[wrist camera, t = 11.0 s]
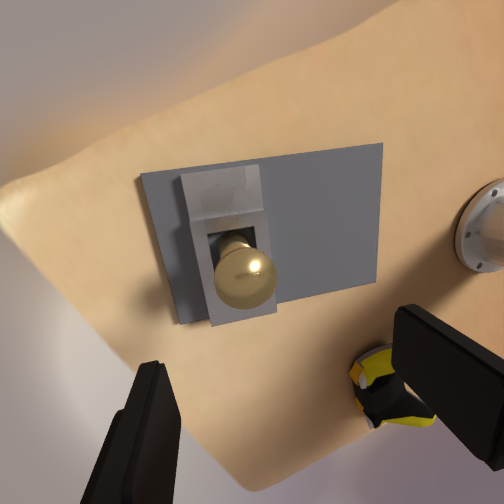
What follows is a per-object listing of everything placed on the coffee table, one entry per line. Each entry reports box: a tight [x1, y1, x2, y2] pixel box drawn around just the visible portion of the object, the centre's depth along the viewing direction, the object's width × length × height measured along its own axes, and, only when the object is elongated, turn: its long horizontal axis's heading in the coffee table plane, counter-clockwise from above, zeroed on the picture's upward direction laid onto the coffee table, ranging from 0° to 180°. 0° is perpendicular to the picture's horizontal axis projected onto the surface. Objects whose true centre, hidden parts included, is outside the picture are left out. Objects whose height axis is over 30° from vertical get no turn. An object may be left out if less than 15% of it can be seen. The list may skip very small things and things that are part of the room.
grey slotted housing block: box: [180, 164, 277, 327], centre depth 24 cm, size 7×15×2 cm, turn 7°
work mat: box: [140, 143, 383, 325], centre depth 26 cm, size 24×16×1 cm, turn 97°
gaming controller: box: [349, 343, 436, 429], centre depth 34 cm, size 15×6×10 cm
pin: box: [214, 231, 278, 309], centre depth 21 cm, size 4×4×9 cm
